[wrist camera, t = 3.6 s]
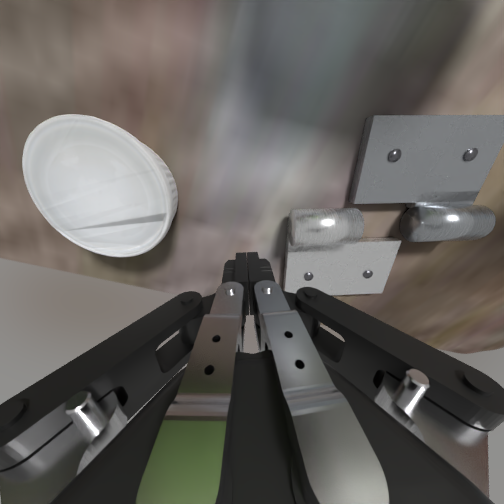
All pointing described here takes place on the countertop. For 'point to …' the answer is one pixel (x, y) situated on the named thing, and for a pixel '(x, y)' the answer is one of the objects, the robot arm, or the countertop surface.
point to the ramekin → (99, 185)
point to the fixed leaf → (430, 172)
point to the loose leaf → (335, 253)
